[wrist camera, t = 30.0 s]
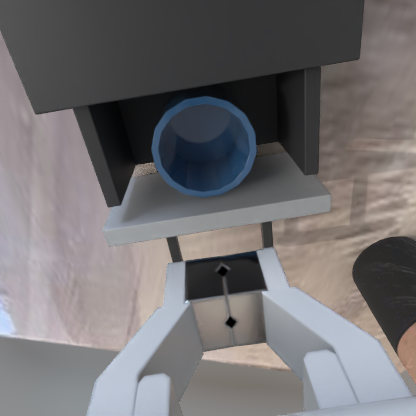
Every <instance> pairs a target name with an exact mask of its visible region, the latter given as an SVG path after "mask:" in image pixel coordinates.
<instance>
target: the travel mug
mask: <svg viewBox="0 0 416 416" xmlns="http://www.w3.org/2000/svg"><path fill="white" fill-rule="evenodd" d="M352 274H353V279H354V282H355V284H356V285H357V287H358V289H359V291H360V292H361V294H362V296H363V298H364V299H365V301H366V303H367V304H368V306H369V308H370V310H371V311H372V313H373V315H374V316H375V318H376V320H377V321H378V323H379V325H380V327H381V328H382V330H383V332H384V333H385V335H386V337H387V338H388V340H389V342H390V344H391V345H392V347H393V349H394V350H395V352H396V354H397V355H398V357H399V358H400V360H401V362H402V364H403V365H404V367H405V368H406V370H407V371H408V373H409V374H410V376H411V377H412V379H413V381H414V382H415V384H416V241H414V240H412V239H410V238H406V237H391V238H387V239H383V240H381V241H378V242H376V243H374V244H373V245H371V246H369V247H368V248H367V249H365V250H364V251H363V252H362V253H361V254H360V255H359V257H358V258H357V260H356V262H355V264H354V266H353V272H352Z"/></svg>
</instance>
